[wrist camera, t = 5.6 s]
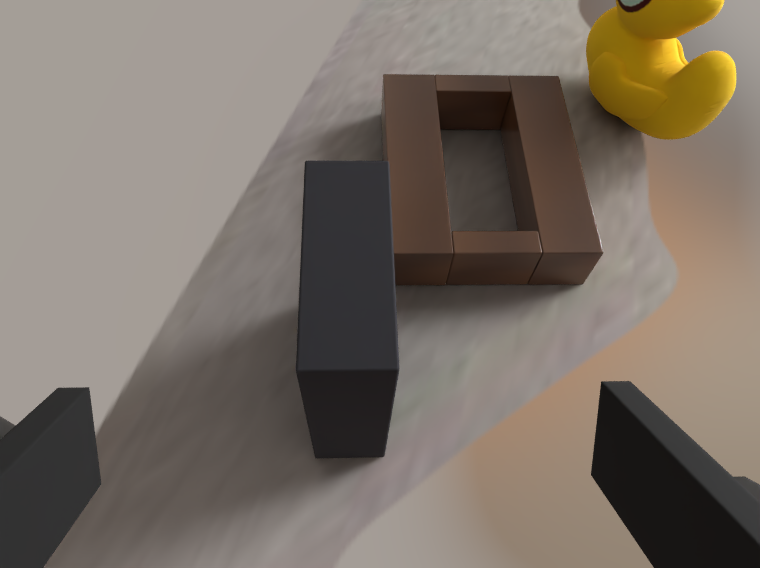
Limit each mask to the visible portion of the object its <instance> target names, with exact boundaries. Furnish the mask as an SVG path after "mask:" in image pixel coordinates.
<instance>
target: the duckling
mask: <svg viewBox="0 0 760 568" xmlns="http://www.w3.org/2000/svg"><path fill="white" fill-rule="evenodd" d="M723 4H724V0H616V5H617V6H616V7H614V8H612V9H610V10H608V11H607V12H605V13H604V14H602V15H601V16H600V17H599V18H598V19H597V21H596V22H595V24H594V25H593V27H592V29H591V31H590V33H589V36H588V40H587V46H586V56H587V64H588V70H589V86H590V89H591V92H592V94H593V95H594V97H595V98H596V99H597V100H598V102H599V103H600V104H601V105H602V106H603V108H604V109H605V110H606V111H608V112H609V113H611V114H613V115H616V116H618V117H620V118H621V119H622V120H623V121H625V122H626V123H627V124H629V125H630V126H631V127H633V128H635V129H637V130H639V131H641V132H643V133H645V134H647V135H649V136H652V137H655V138H659V139H680V138H685V137H689V136H691V135H693V134H695V133H697V132H699V131H701V130H702V129H703V128H705V127H706V126H707V125H709V124H710V123H711V122H712V121H713V120H714V119H715V118H716V117H717V116H718V114H719V113H720V112H721V111H722V110H723V108H724V107H725V106H726V104H727V103H728V101H729V100H730V98H731V97H732V95H733V93H734V90H735V86H736V67H735V63H734V61H733V59H732V58H731V57H730V56H729V55H728V54H726V53H725V52H721V51H710V52H707V53H705V54H702V55H701V56H698V57H697V58H695V59H693V60H692V61H691V62H690V63H688V62H687V61H686V60H685V58H684V55H683V49H682V46H681V44H680V42H679V41H678V40H677V39H676V37H679V36H681V35H683V34H685V33H687V32H689V31H691V30H693V29H695V28H696V27H698V26H700V25H703V24H705V23H706V22H708V21H710V20H711V19H713V18H714V17H715V16H716V15H717V14H718V13H719V11H720V10H721V8H722V6H723Z"/></svg>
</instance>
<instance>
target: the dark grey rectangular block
mask: <svg viewBox="0 0 760 568" xmlns="http://www.w3.org/2000/svg"><path fill="white" fill-rule="evenodd" d="M296 373H297V377H298V382H299V386H300V391H301V395H302V400H303V405H304V409H305V414H306V418H307V423H308V427H309V432H310V436H311V441H312V445H313V450H314V454H315V458H355V457H384V455H385V449H386V443H387V438H388V432H389V426H390V420H391V414H392V409H393V403H394V397H395V391H396V385H397V379H398V374H399V352H398V331H397V310H396V289H395V268H394V248H393V227H392V206H391V185H390V164H389V161H306V162H305V173H304V196H303V219H302V242H301V265H300V288H299V311H298V334H297V357H296Z"/></svg>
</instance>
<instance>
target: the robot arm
mask: <svg viewBox="0 0 760 568" xmlns="http://www.w3.org/2000/svg"><path fill="white" fill-rule="evenodd" d="M591 476H592V477H593V478H594V480H595V481H596V483H597V484H598V486H599V487H600V489H601V490H602V492H603V493H604V495H605V496H606V498H607V499H608V501H609V502H610V504H611V505H612V506H613V508H614V509H615V511H616V512H617V514H618V515H619V517H620V518H621V520H622V521H623V523H624V524H625V526H626V527H627V529H628V530H629V531H630V533H631V535H632V536H633V537H634V539H635V540H636V542H637V543H638V545H639V546H640V548H641V549H642V551H643V552H644V554H645V555H646V556H647V558H648V559H649V561H650V563H651V564H652V565H653V567H654V568H760V485H759V484H757V483H756V482H753V481H752V480H750V479H748V478H746V477H733V476H731V475H730V474H729V473H728V472H727V471H726V470H725V469H724V468H723V467H722V466H721V465H720V464H718V463H717V462H716V461H715V460H714V459H713V458H712V457H711V456H710V455H709V454H708V453H707V452H706V451H705V450H703V449H702V448H701V447H700V446H699V445H698V444H697V443H696V442H695V441H694V440H693V439H692V438H691V437H689V436H688V435H687V434H686V433H685V432H684V431H683V430H682V429H681V428H680V427H679V426H678V425H677V424H675V423H674V422H673V421H672V420H671V419H670V418H669V417H668V416H667V415H666V414H665V413H664V412H663V411H661V410H660V409H659V408H658V407H657V406H656V405H655V404H654V403H653V402H652V401H651V400H650V399H649V398H647V397H646V396H645V395H644V394H643V393H642V392H641V391H640V390H639V389H638V388H637V387H636V386H635V385H633V384H632V383H631V382H629V381H619V382H618V381H613V382H612V381H609V382H601V389H600V398H599V408H598V416H597V425H596V434H595V444H594V452H593V461H592V471H591ZM100 485H101V478H100V470H99V462H98V454H97V446H96V438H95V430H94V422H93V414H92V406H91V399H90V391H89V388H57V389H56V390H55V391H54V392H53V393H52V394H51V395H49V397H47V398H46V399H45V400H44V401H43V402H42V403H41V404H39V405H38V406H37V407H36V408H35V409H34V410H33V411H32V412H31V413H29V414H28V415H27V416H26V417H25V418H24V419H23V420H22V421H21V422H19V423H18V424H17V425H16V426H15V427H14V428H13V429H12V430H10V431H9V432H8V433H7V434H6V435H5V436H4V437H3V438H2V439H0V568H43V567H44V565H45V564H46V563H47V561H48V560H49V558H50V557H51V555H52V554H53V553H54V551H55V550H56V548H57V547H58V545H59V544H60V543H61V541H62V540H63V538H64V537H65V535H66V534H67V532H68V531H69V530H70V528H71V527H72V525H73V524H74V522H75V521H76V520H77V518H78V517H79V515H80V514H81V512H82V511H83V510H84V508H85V507H86V505H87V504H88V502H89V501H90V499H91V498H92V497H93V495H94V494H95V492H96V491H97V489H98V488H99V487H100Z"/></svg>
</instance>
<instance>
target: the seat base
mask: <svg viewBox="0 0 760 568" xmlns="http://www.w3.org/2000/svg"><path fill="white" fill-rule="evenodd" d="M381 121H382V145H383V161H389V164H390V185H391V206H392V227H393V248H394V268H395V285H445V284H446V285H505V284H528V285H540V284H583V283H584V282H585V280H586V279H587V277H588V276H589V274H590V272H591V271H592V269H593V268H594V266H595V265H596V263H597V262H598V260H599V259H600V257H601V256H602V254H603V249H602V245H601V241H600V237H599V233H598V229H597V225H596V221H595V217H594V214H593V210H592V206H591V202H590V198H589V194H588V190H587V186H586V182H585V178H584V174H583V170H582V166H581V163H580V159H579V155H578V151H577V147H576V143H575V139H574V135H573V131H572V127H571V123H570V119H569V116H568V112H567V108H566V104H565V100H564V96H563V92H562V88H561V84H560V80H559V77H558V76H499V75H435V76H434V75H401V74H384V75H383V89H382V108H381ZM440 129H459V130H501V135H502V141H503V147H504V153H505V158H506V164H507V170H508V175H509V181H510V187H511V193H512V198H513V204H514V210H515V216H516V221H517V227H518V231H452V233H451V225H450V215H449V206H448V197H447V187H446V178H445V169H444V159H443V150H442V141H441V131H440Z"/></svg>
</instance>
